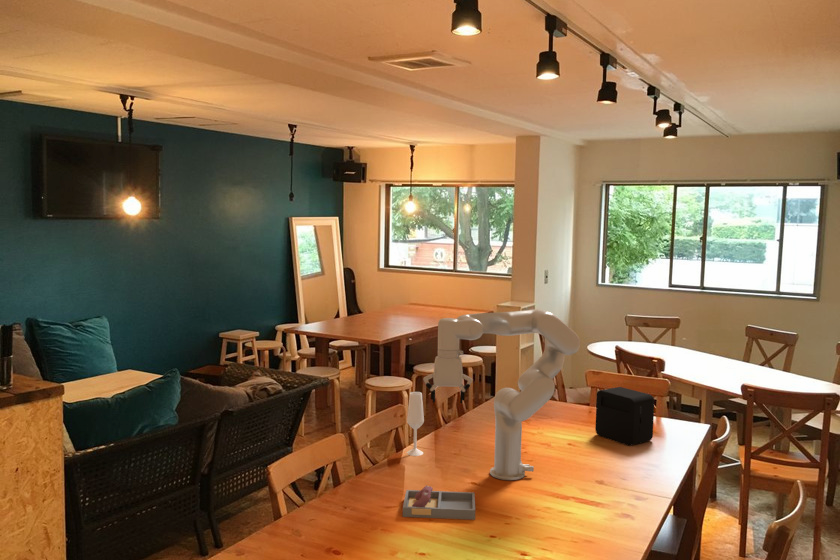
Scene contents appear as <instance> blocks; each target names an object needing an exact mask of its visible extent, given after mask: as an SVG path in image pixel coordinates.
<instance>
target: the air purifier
mask: <svg viewBox="0 0 840 560" xmlns="http://www.w3.org/2000/svg"><path fill="white" fill-rule="evenodd" d="M595 400H596V402H595V406H596V408H595V433H596V435H597V436H598V437H601V438H604V439H607V440H610V441H613V442H616V443H619V444H622V445H624V446H629V447H630V446H634V445H638V444H641V443H645V442H650V441H651V440H652V439H653V437H654V419H655V418H654V414H655V398H654V396H653V395H652V394H650V393H646V392H642V391H638V390H633V389H630V388H626V387H622V386H618V387H611V388H607V389H600V390H597V393H596V399H595Z"/></svg>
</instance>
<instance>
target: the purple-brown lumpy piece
mask: <svg viewBox="0 0 840 560" xmlns="http://www.w3.org/2000/svg"><path fill="white" fill-rule="evenodd" d="M433 489H434V488H433V487H432V486H429V485H425V486H424V487H423V488H422V489H421V491H419V492H418V493H417V494H416V495H415V498H416V500H418V501H416V502H415V503H414V504H413V505H412V507H425V506H426V505H427V503H428V502H429V503H430V502H431V500H430V497H431V495H430V494H431V492H432V491H433Z"/></svg>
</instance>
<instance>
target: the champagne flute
mask: <svg viewBox="0 0 840 560" xmlns="http://www.w3.org/2000/svg"><path fill="white" fill-rule="evenodd" d="M424 416H425V415H424V404H423V393H422V392H420V391H410V392H409V398H408V408H407V416H406V422H407V424H408V426H409V427H410V428H412V429H413V447H412V449H410V450H408V451H406V454H407V453H408V454H407V455H409V456H411V457H412V456H413V457H418V456H419V457H420V456H422V455H424V452H423V451H422V450H420V449H418V448H417V445H418V444H417V442H418V441H417V438H418V437H417V436H418V435H417V433H418V429H419V428H421V426H422V425H423V424H424V422H425V417H424Z"/></svg>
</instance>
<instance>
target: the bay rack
mask: <svg viewBox="0 0 840 560" xmlns="http://www.w3.org/2000/svg"><path fill="white" fill-rule="evenodd" d="M421 490H422V489H421ZM421 490H415V489H414V490H413V489H406V491H405V494H404V495H405V496H404V501H403V505H402V518H422V519H423V518H425V519H426V518H427V519H452V520H473V521H474V520H476V498H475V497H476V495H475V492H472V491H471V492H470V491H469V492H467V491H447V490H445V491H443V490H432V492H431V494H430V495H431V497H430V500H431V502H430V503H429V502H428V503H427V505H426V506H425V507H412V505H413V504H414V503H415V502H416V501H418V500H416V498H415V495H416V494H417V493H418V492H419V491H421Z"/></svg>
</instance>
